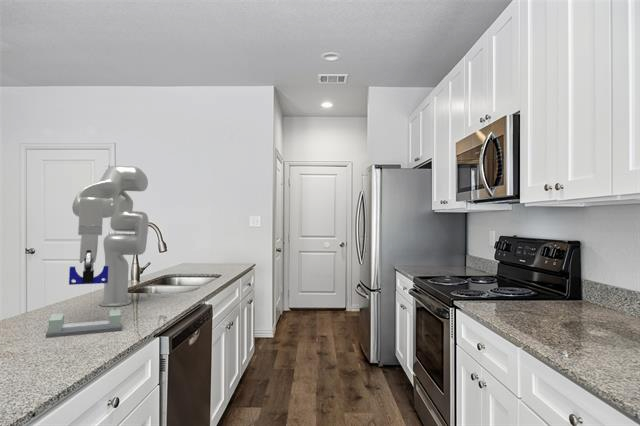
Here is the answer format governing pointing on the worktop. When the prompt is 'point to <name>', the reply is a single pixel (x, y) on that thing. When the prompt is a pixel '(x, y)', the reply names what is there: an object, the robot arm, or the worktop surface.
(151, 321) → the worktop surface
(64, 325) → the board
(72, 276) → the cable clip
